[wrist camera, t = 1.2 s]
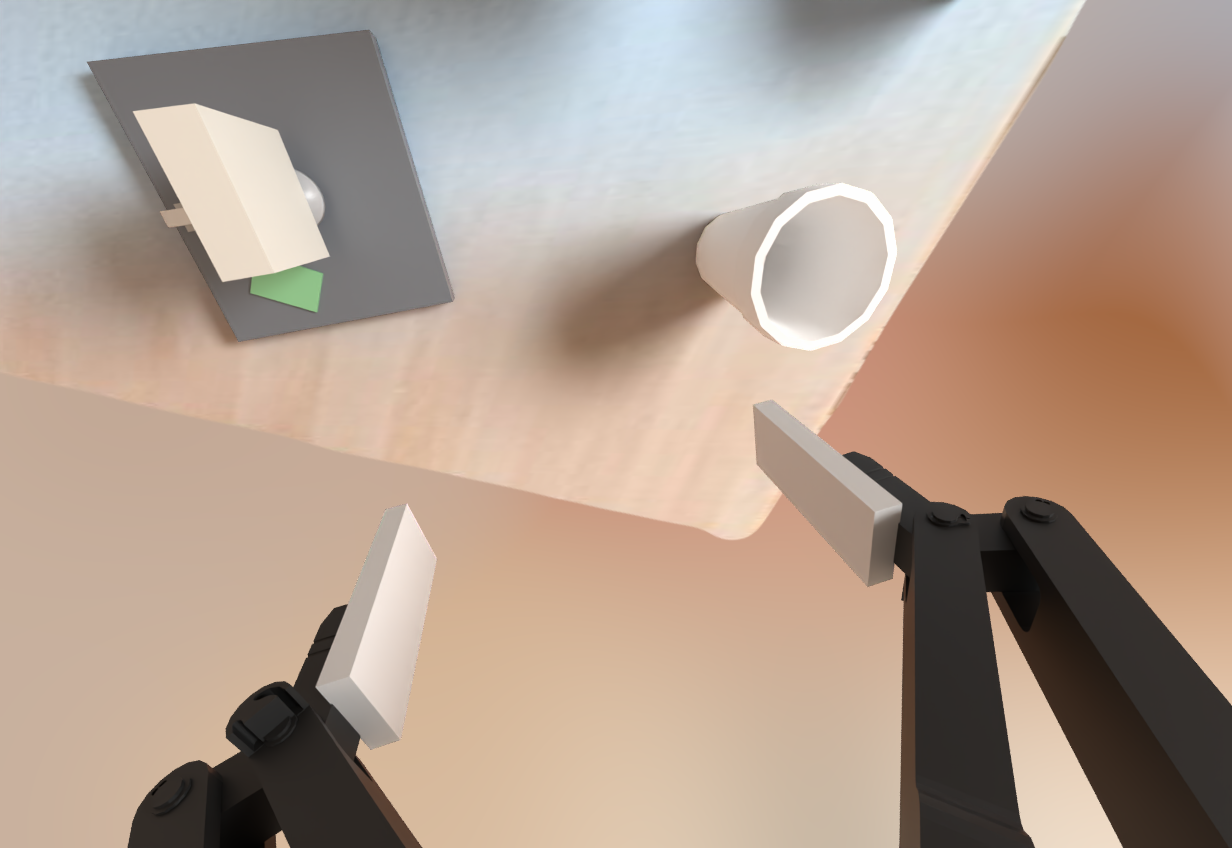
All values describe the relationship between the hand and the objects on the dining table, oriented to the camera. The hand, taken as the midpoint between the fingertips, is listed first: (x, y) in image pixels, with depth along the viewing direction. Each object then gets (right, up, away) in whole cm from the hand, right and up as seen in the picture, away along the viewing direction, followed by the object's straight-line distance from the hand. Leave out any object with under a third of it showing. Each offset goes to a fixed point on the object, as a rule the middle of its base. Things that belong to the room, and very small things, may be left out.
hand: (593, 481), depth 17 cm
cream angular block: (-22, +16, +12) cm, 30 cm away
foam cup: (+10, +17, +22) cm, 29 cm away
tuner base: (-20, +17, +14) cm, 30 cm away
